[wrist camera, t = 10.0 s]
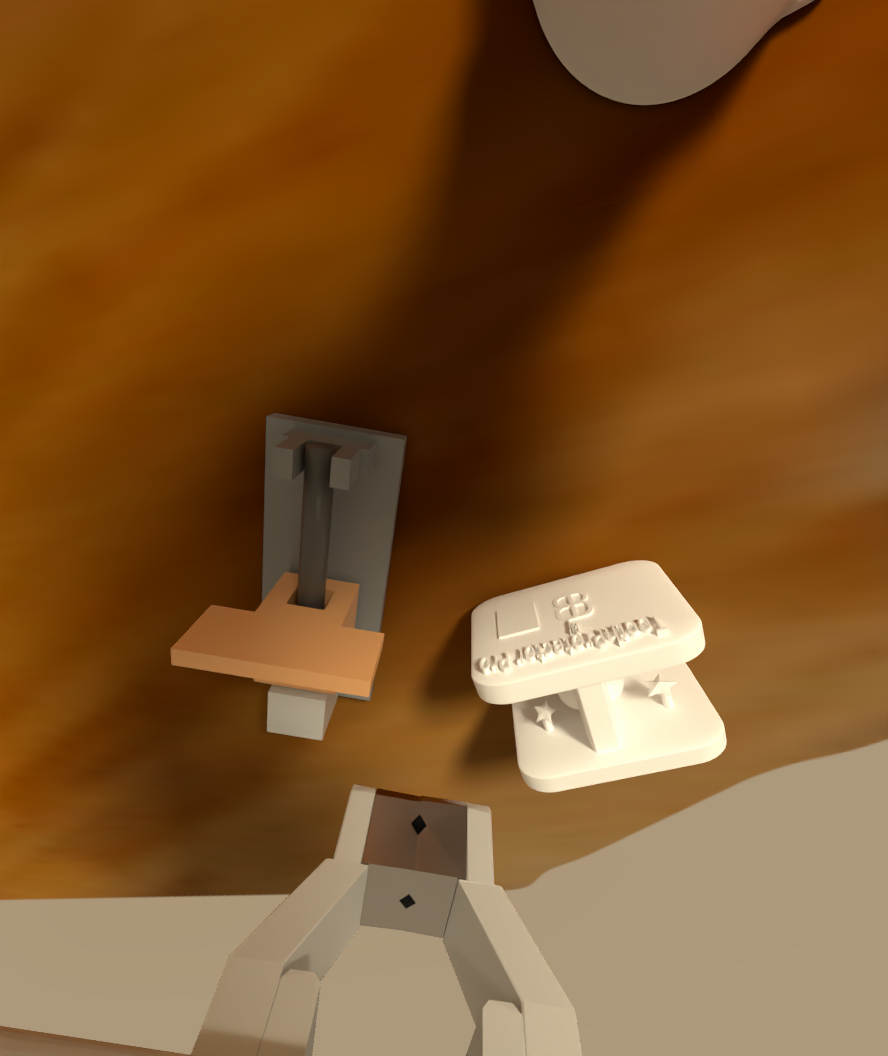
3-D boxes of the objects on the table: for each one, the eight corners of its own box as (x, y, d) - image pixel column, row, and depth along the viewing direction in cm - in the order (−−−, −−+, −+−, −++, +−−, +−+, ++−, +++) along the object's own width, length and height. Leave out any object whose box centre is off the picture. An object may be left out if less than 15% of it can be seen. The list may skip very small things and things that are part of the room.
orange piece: (247, 565, 40) (170, 648, 29) (396, 590, 40) (371, 681, 30) (247, 628, 42) (175, 725, 32) (388, 651, 42) (361, 755, 32)
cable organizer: (504, 690, 46) (514, 803, 35) (468, 593, 42) (467, 686, 31) (671, 650, 43) (738, 759, 32) (649, 544, 39) (715, 626, 29)
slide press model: (274, 412, 37) (230, 432, 30) (407, 435, 37) (393, 460, 30) (266, 671, 46) (231, 730, 39) (373, 689, 46) (356, 751, 40)
